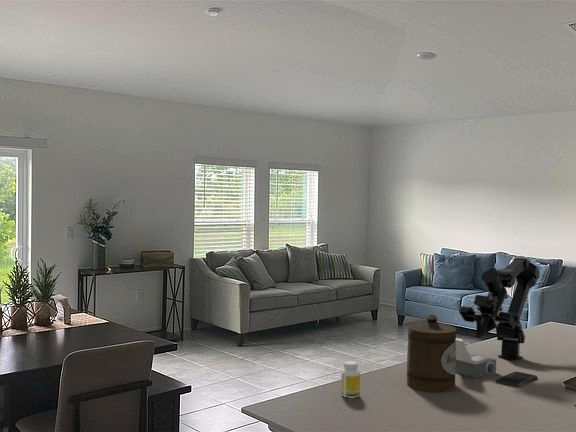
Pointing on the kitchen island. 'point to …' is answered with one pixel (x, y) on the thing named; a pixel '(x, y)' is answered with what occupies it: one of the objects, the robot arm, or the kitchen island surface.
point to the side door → (462, 352)
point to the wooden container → (431, 356)
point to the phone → (516, 379)
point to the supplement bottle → (350, 380)
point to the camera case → (477, 366)
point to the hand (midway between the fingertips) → (477, 337)
